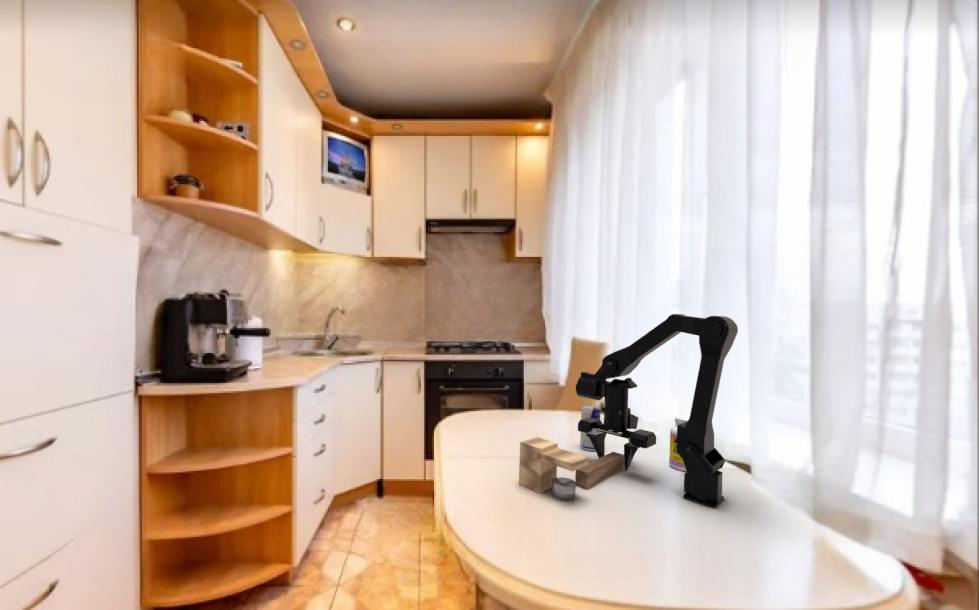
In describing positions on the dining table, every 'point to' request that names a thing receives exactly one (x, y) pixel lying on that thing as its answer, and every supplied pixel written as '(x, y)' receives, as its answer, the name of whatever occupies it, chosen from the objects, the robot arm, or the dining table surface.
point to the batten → (599, 470)
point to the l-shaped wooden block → (545, 463)
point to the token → (563, 489)
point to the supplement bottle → (674, 457)
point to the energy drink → (585, 441)
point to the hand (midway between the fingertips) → (614, 466)
